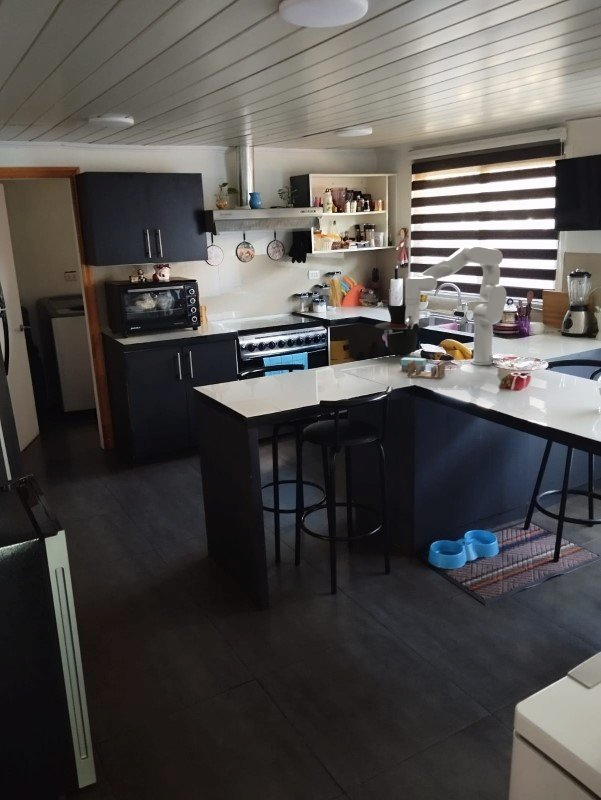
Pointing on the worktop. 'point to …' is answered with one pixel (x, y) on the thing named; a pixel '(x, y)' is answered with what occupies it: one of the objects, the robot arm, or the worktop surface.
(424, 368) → the riser
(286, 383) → the worktop surface
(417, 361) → the shelf board
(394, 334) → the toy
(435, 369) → the peg cradle
